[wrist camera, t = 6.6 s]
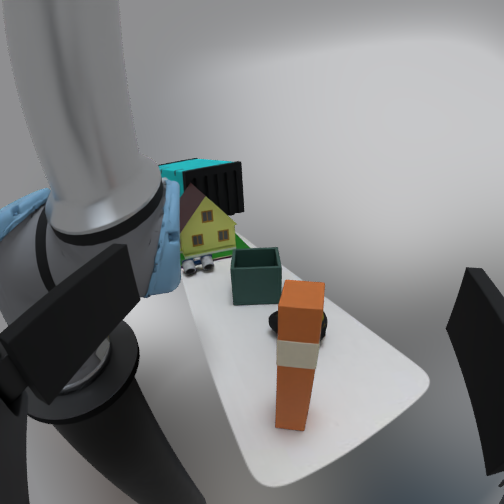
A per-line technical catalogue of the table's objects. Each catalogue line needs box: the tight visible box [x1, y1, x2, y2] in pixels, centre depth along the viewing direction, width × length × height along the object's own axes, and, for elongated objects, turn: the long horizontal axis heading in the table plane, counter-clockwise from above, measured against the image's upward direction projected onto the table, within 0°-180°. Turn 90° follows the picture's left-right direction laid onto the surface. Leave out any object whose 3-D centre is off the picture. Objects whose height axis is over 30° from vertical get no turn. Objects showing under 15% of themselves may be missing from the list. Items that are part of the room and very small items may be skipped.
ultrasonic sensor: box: [181, 253, 214, 275], centre depth 56 cm, size 6×2×3 cm, turn 112°
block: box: [275, 280, 325, 431], centre depth 24 cm, size 3×4×16 cm
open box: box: [230, 247, 282, 305], centre depth 48 cm, size 8×7×6 cm
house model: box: [180, 183, 250, 266], centre depth 66 cm, size 18×20×13 cm
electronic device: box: [158, 158, 244, 216], centre depth 84 cm, size 25×25×15 cm
